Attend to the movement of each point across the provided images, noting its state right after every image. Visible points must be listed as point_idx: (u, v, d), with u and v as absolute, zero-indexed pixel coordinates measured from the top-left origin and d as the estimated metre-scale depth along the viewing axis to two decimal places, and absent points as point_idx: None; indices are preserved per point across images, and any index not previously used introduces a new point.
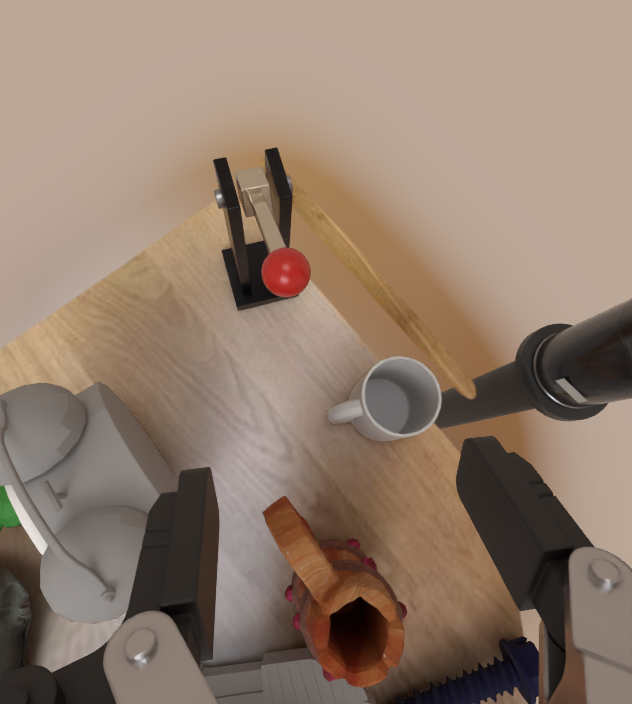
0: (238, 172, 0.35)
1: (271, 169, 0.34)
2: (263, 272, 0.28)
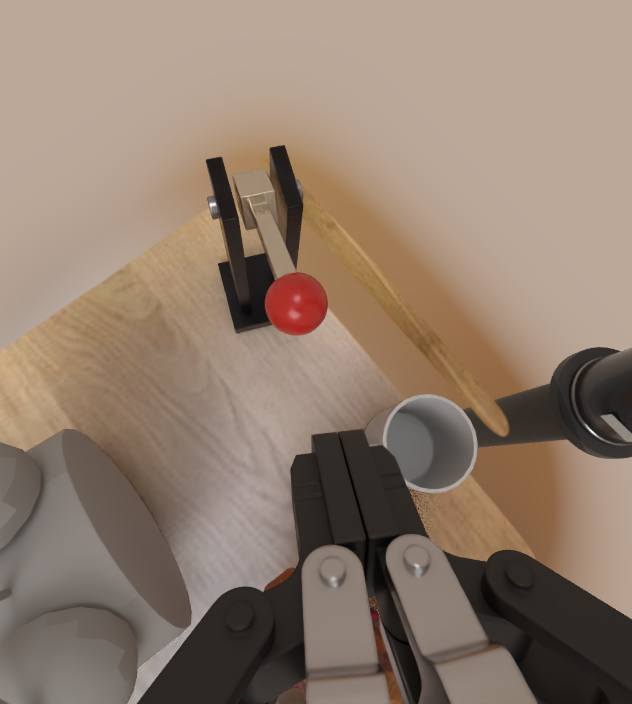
0: (237, 175, 0.28)
1: (277, 172, 0.27)
2: (267, 304, 0.22)
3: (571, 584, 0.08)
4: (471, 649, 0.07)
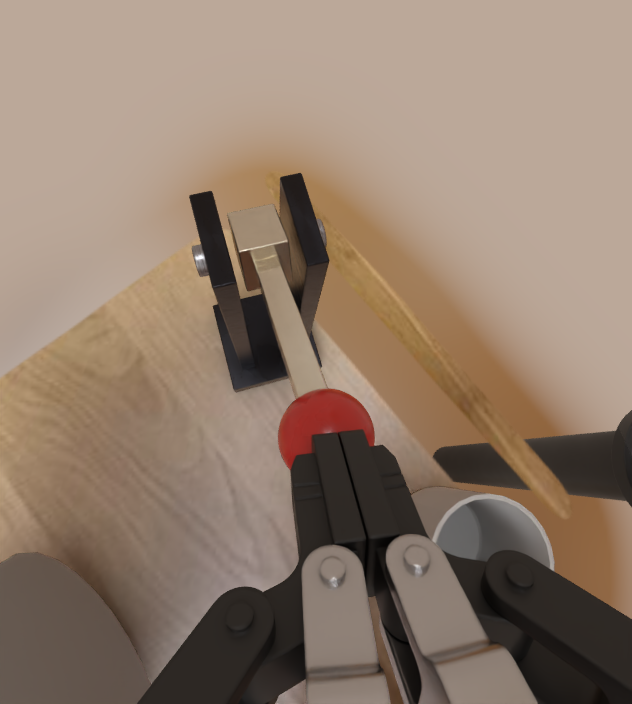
0: (234, 215, 0.20)
1: (291, 212, 0.19)
2: (282, 446, 0.14)
3: (571, 584, 0.08)
4: (471, 649, 0.07)
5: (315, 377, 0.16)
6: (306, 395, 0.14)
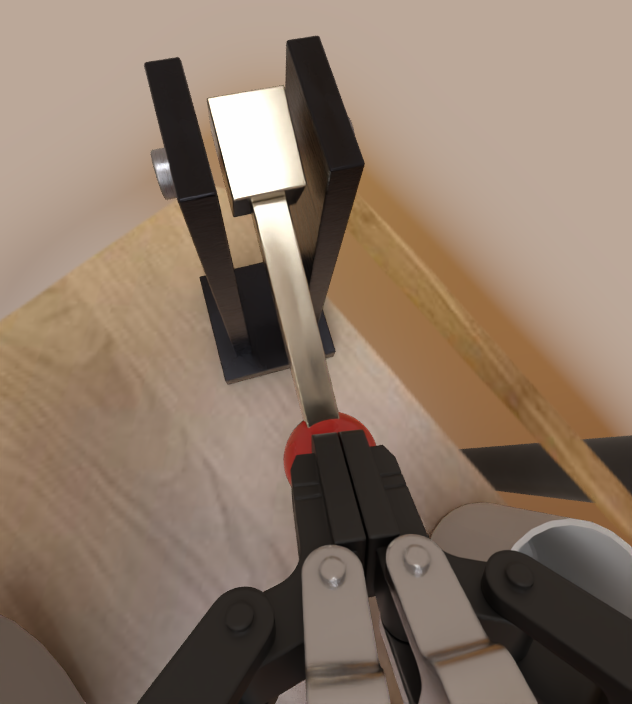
0: (219, 106, 0.12)
1: (304, 91, 0.12)
2: None
3: (571, 584, 0.08)
4: (471, 649, 0.07)
5: (327, 402, 0.14)
6: None
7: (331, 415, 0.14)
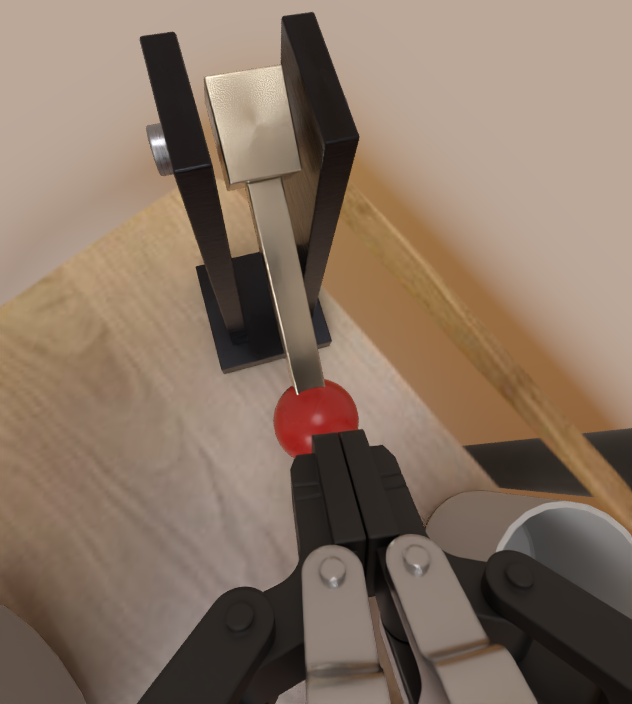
0: (216, 86, 0.12)
1: (299, 66, 0.12)
2: (281, 442, 0.16)
3: (571, 584, 0.08)
4: (471, 649, 0.07)
5: (314, 373, 0.16)
6: (308, 410, 0.15)
7: (318, 384, 0.16)
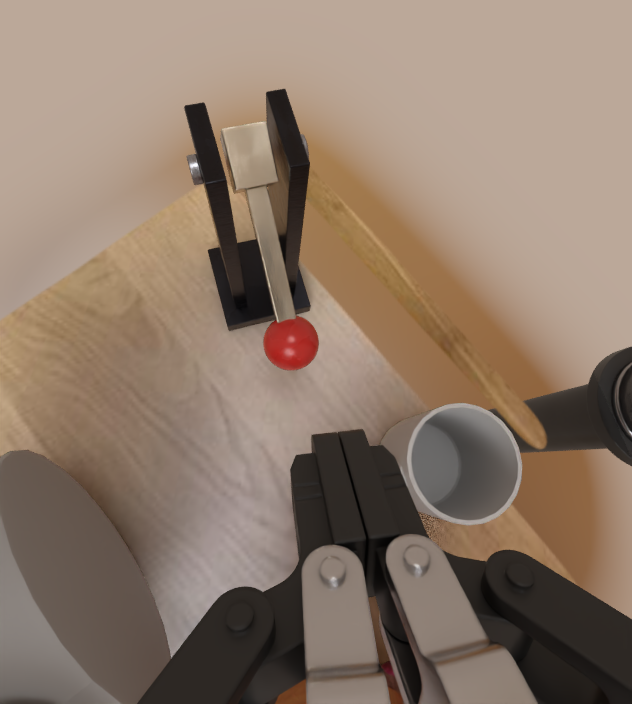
0: (228, 134, 0.21)
1: (276, 122, 0.21)
2: (268, 354, 0.25)
3: (571, 584, 0.08)
4: (471, 649, 0.07)
5: (289, 309, 0.25)
6: (284, 331, 0.24)
7: (291, 316, 0.25)
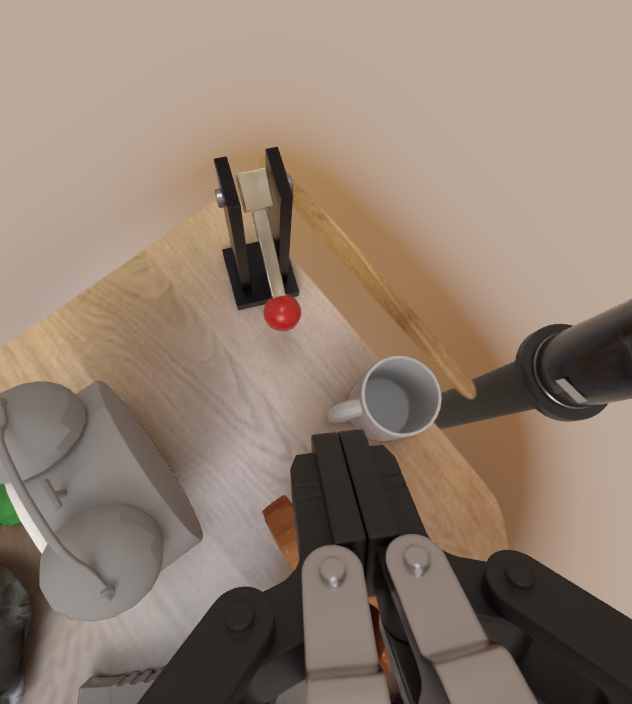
0: (241, 176, 0.33)
1: (272, 168, 0.34)
2: (266, 319, 0.37)
3: (571, 584, 0.08)
4: (471, 649, 0.07)
5: (280, 289, 0.37)
6: (277, 303, 0.37)
7: (282, 294, 0.37)
